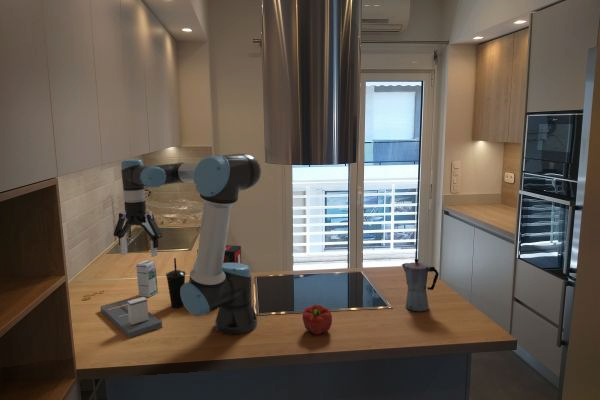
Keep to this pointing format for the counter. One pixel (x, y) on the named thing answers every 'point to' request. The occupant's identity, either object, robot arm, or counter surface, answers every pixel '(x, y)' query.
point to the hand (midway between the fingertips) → (139, 255)
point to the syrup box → (147, 278)
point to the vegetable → (317, 319)
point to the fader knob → (137, 310)
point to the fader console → (121, 319)
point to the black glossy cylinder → (175, 286)
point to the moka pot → (418, 285)
